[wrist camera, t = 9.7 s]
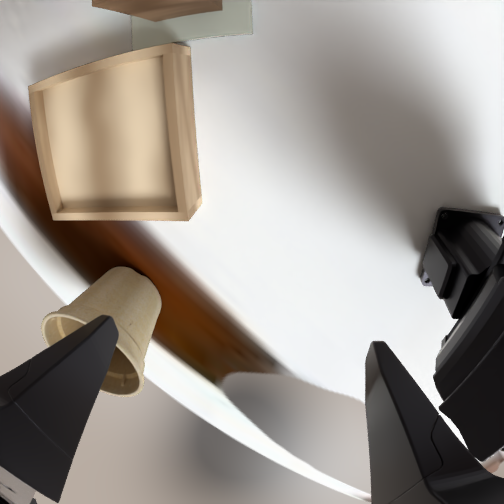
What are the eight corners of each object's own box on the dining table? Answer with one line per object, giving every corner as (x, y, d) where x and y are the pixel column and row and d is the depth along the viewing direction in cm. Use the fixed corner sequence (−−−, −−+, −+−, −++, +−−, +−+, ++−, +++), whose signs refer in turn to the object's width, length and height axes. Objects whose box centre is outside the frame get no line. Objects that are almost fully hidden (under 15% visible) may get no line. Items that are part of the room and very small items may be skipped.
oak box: (190, 47, 16) (172, 42, 14) (202, 203, 22) (188, 221, 19) (53, 81, 18) (28, 86, 16) (74, 205, 24) (53, 220, 21)
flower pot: (200, 307, 27) (167, 385, 20) (143, 341, 31) (109, 404, 24) (123, 230, 24) (62, 293, 17) (78, 280, 28) (30, 337, 21)
